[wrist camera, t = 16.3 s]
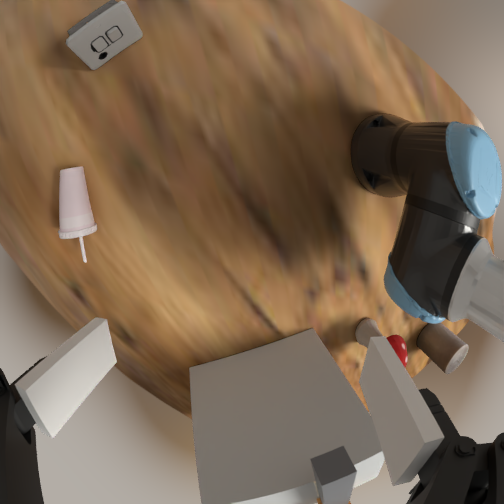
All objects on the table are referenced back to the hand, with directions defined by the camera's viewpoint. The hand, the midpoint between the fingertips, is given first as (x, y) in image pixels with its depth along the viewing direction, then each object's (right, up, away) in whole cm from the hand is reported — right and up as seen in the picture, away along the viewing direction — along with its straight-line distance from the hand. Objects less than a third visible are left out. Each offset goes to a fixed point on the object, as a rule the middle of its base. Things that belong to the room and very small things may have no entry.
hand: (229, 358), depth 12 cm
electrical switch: (-21, +37, +16) cm, 45 cm away
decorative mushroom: (+26, -12, +45) cm, 53 cm away
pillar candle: (+52, -19, +53) cm, 76 cm away
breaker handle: (+11, -26, +13) cm, 31 cm away
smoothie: (-25, +17, +19) cm, 36 cm away
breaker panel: (+3, -21, +43) cm, 48 cm away
